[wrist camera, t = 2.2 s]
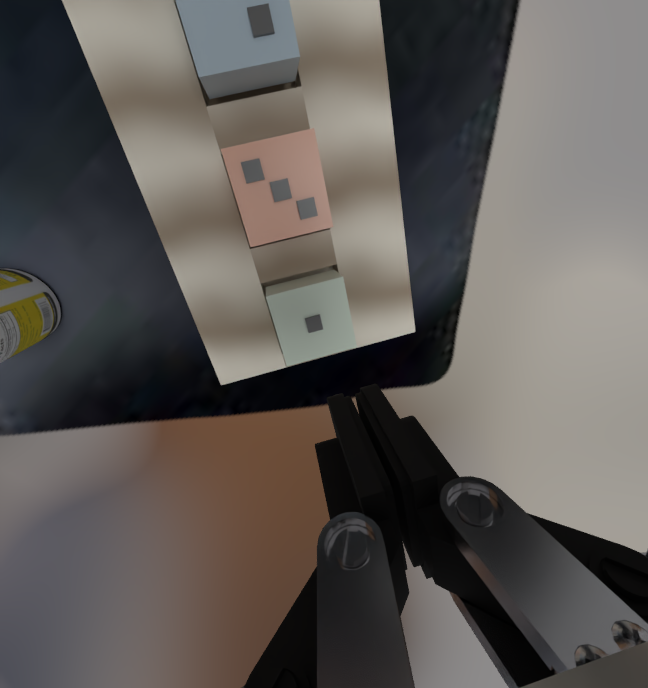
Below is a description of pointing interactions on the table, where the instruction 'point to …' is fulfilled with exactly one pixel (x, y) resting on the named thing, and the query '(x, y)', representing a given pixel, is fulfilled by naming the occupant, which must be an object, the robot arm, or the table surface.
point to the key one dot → (311, 316)
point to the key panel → (248, 126)
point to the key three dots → (279, 186)
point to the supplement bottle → (25, 312)
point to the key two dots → (240, 43)
